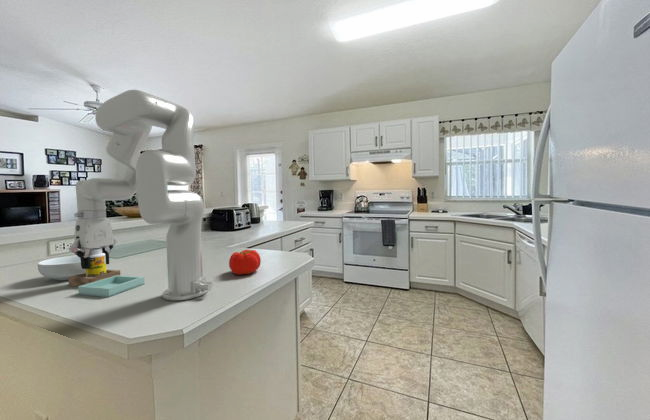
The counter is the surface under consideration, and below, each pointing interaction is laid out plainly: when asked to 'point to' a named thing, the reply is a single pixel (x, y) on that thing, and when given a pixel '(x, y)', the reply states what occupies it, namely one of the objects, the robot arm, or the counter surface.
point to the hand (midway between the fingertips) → (95, 265)
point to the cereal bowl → (61, 267)
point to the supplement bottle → (96, 263)
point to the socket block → (90, 278)
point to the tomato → (244, 262)
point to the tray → (110, 286)
